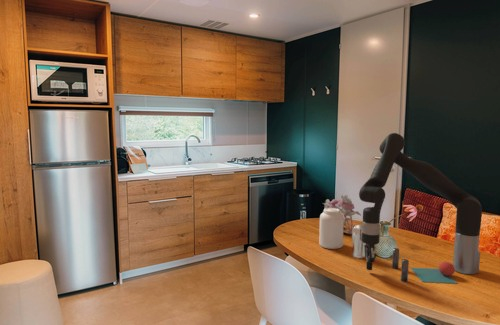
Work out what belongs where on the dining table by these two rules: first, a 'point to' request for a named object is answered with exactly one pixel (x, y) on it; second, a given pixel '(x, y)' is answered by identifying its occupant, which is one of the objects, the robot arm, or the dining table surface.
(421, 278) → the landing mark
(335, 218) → the white jar
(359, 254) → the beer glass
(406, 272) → the post
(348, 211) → the flower
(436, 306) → the dining table surface
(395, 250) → the post
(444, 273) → the ball
